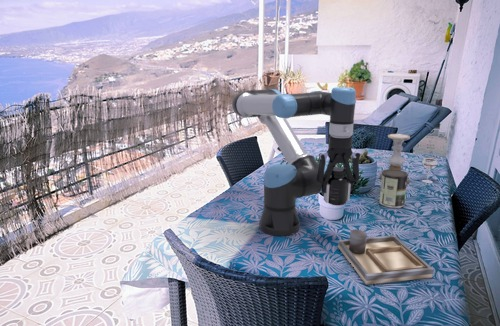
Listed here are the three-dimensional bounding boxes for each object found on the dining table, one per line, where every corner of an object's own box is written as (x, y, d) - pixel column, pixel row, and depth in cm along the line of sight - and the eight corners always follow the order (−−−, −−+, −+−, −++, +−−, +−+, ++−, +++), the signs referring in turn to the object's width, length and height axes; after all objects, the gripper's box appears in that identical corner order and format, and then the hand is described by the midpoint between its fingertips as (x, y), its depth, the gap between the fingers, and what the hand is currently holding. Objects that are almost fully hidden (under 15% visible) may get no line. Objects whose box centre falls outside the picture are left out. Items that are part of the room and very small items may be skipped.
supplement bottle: (331, 196, 121) (333, 165, 117) (349, 201, 117) (352, 168, 113) (322, 202, 116) (324, 169, 112) (341, 207, 112) (343, 173, 108)
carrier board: (366, 284, 93) (368, 261, 91) (338, 247, 112) (339, 227, 110) (432, 277, 95) (435, 255, 93) (394, 242, 114) (396, 223, 112)
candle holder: (399, 177, 179) (404, 133, 172) (409, 184, 169) (415, 137, 162) (379, 177, 179) (383, 133, 172) (388, 184, 168) (393, 138, 162)
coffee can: (401, 199, 150) (404, 169, 146) (406, 209, 140) (410, 177, 136) (377, 198, 152) (380, 168, 148) (381, 207, 142) (384, 175, 138)
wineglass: (431, 179, 175) (434, 157, 172) (437, 183, 168) (440, 160, 165) (417, 179, 176) (420, 157, 172) (422, 183, 169) (426, 160, 166)
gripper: (315, 139, 105) (312, 206, 111) (374, 136, 107) (368, 202, 114) (308, 134, 112) (305, 198, 118) (363, 132, 114) (358, 194, 121)
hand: (336, 200), depth 116 cm, fingers closed on supplement bottle, 7 cm apart
